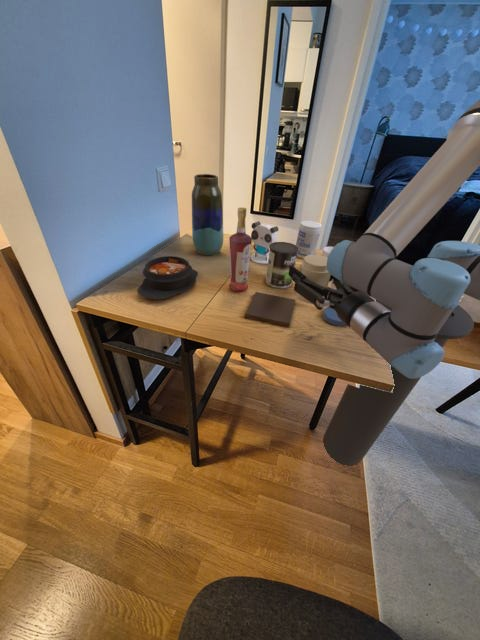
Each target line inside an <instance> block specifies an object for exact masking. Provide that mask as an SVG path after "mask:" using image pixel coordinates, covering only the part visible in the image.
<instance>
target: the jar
mask: <svg viewBox="0 0 480 640" xmlns="http://www.w3.org/2000/svg"><path fill="white" fill-rule="evenodd" d="M327 259H328V258H327V257H325V256H322V254H315V255H314V254H313V255H307V256H305V257H304V258H303V260H302V261H300V264H299V265H300V266H299V269H298V271H300V272H301V273H302V274H303V275H305V276H306V278H305V279H307V280H309V281H311V282H313V283H316V284H318V285H320V286H323V287H325V288H327V287H329V284H330V282H329V280H330V277H331V274H330V273H329V272H328V270H327ZM294 296H295V297H296V299H298V300H299V301H300V302H303V303H306V304H312V303H311V302H310V301H308V300H307V299H305V298H304V297H302V296H301V295H300V294H298V293H297V292H295V291H294Z"/></svg>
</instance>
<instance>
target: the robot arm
mask: <svg viewBox="0 0 480 640" xmlns="http://www.w3.org/2000/svg"><path fill="white" fill-rule="evenodd" d="M479 167H480V99H478V100H477V101H475V103H473V104H472V105H471V106H470V107H468V109H466V111H464V112H463V113H462V114H461V116H460V117H459V118H458V119H457V120H456V121H455V122H454V123H453V124H452V125H451V127H450V128H449V130H448V132H447V134H446V140H445V141H444V142H443V144H442V145H441V146H440V147H439V148H438V150H437V151H436V152H434V154H433V155H432V156H431V157H430V158H429V159H428V161H427V162H426V163H425V164H424V165H423V166H422V167H421V169H420V170H419V171H418V172H417V173H416V174H415V175H414V176H413V177H412V179H411V180H410V181H409V182H408V183H407V184H406V186H405V187H403V189H402V190H401V191H400V192H399V193H398V194H397V195H396V197H395V198H394V199H393V200H392V201H391V202H390V203H389V204H388V206H387V207H386V208H385V209H384V211H382V213H380V215H379V216H378V217H377V218H376V219H375V220H374V221H373V223H372V224H371V225H370V226H369V227H368V229H366V230H365V232H364V233H362V234H361V236H360V237H359V238H358V239H357V240H356V241H354V240H348V239H344V240H341V242H338V243H336V245H334V246H333V247H334V248H333V249H332V250H331V252H330V254H329V256H328V259H327V270H328V272H329V273H330V274H331V277H330V280H329V283H330V282H331V283H332V284H335V286H336V288H337V290H334V289H332V288H330V287H331V286H328V287H327V288H325V287H323V286H320V285H318V284H316V283H313V282H311V281H309V280H307V279H305V278H306V276H305V275H303V274H302V273H301V272H300V271H299V269H297V267H296V266H295V267H294V266H290V268H289V274H288V275H289V276H290V277H291V278H292V282H293V283H294V286H293V292H294V293H295V292H297V293H298V294H300V295H301V296H302V297H304V298H305V299H307V300H308V301H310V302H311V303H310V304H312V305H314V307H315V308H316V309H317V310H318V311H322V310H323V308H327V307H330V308H332V309H334V310H335V311H336V313H337V315H338V317H339V319H340V320H342V321H343V322H344V323H345V324H346V325H345V326H347V327H348V328H350V329H351V330H352V331H353V332H354V333H355V334H356V335H357V336H359V338H360V339H362V340H363V341H364V342H365V343H366V344H368V346H369V347H370V348H372V349H373V350H374V351H375V352H376V353H377V354H378V355H379V356H380V357H381V358H383V360H384V361H386V363H387V362H388V363H389V364H390V365H391V366H393V367H394V368H395V369H396V370H398V371H399V372H400V373H402V374H403V375H404V376H406V377H408V378H411V379H415V378H419V377H421V378H422V377H424V376H426V375H427V374H429V373H430V372H432V371H433V370H434V369H436V368H437V367H438V366H439V364H441V362H442V361H443V359H444V356H445V349H444V347H443V348H442V347H441V346H439V345H438V343H436V342H434V340H435V338H436V337H437V333H438V332H439V330H440V329H441V327H442V326H443V324H444V323H445V322H446V320H447V319H448V317H449V316H450V314H451V315H452V316H455V314H454V313H453V312H452V311H453V310H454V308H455V307H456V306H457V305H459V304H460V300H461V298H462V297H463V295H466V296H469V297H471V298H473V299H475V300H478V301H480V244H477V243H474V242H468V241H462V240H444V241H443V240H442V241H440V242H437V243H436V244H434V246H433V247H432V249H431V250H430V252H429V253H428V254H427V257H424V258H420V259H418V260H417V261H415V263H414V264H413V265H412V264H410V263H407V262H404V261H402V260H399V259H397V257H398V256H399V254H400V253H401V252H402V251H404V249H405V248H406V247H407V246H408V244H410V243H411V241H412V240H413V239H414V238H415V237H416V236H417V235H418V234H419V233H420V232H421V231H422V230H423V229H424V227H425V226H426V225H427V224H428V223H430V221H431V220H432V219H433V217H434V216H435V215H436V214H437V213H439V211H440V210H441V209H442V207H444V205H445V204H447V202H448V201H449V200H450V199H451V198H452V197H453V195H455V194H456V193H457V191H458V190H459V189H461V187H462V185H464V184H465V183H466V182H467V180H468V179H469V178H470V177H471V176H472V175H473V174H474V173H475V171H477V169H478V168H479ZM332 280H333V282H332ZM376 300H378V301H379V302H381V303H383V304H385V305H387V306H389V307H391V308H392V310H391V311H390V310H388V309H387V308H386V307H384V306H383V305H381V304H380V303H378V302H376Z"/></svg>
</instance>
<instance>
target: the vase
mask: <svg viewBox="0 0 480 640" xmlns="http://www.w3.org/2000/svg"><path fill="white" fill-rule="evenodd" d="M193 178H194V180H193V181H194V186H193V188H192V191H191V236H192V245H193V246H194V248H195V250H196V251H197V252H198V253H199V254H201V255H203V256H214V255H216V254H219V252H220V251H221V249H222V248H223V246H224V245H223V244H224V235H225V234H224V214H223V195H222V191H221V189H220V186H219V176H217V175H215V174H210V173H208V174H207V173H201V174H200V173H199V174H195V175H194V177H193Z"/></svg>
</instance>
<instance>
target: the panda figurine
mask: <svg viewBox="0 0 480 640" xmlns="http://www.w3.org/2000/svg"><path fill="white" fill-rule="evenodd" d="M261 223H262V222H261V221H255V222H252V224H251V229H253V230H252V231H251V234H250V237H251V238H252V242H253V244H254V245H253V250H254V253H251V254H250V260H251V261H252V262H254V263H257V264H262V265H268V258H269V250H270V248H269V246H270V244H272V243H274V242H278V232H279V226H273V225H271V224H268V223H262V224H261Z"/></svg>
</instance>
